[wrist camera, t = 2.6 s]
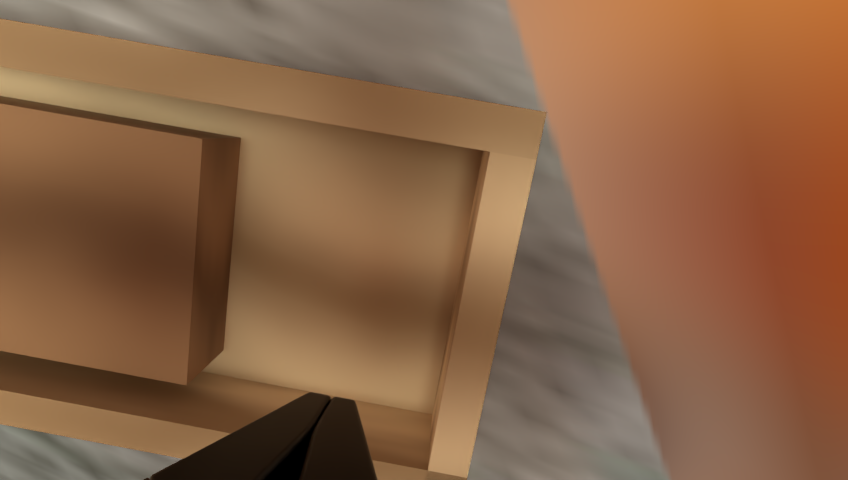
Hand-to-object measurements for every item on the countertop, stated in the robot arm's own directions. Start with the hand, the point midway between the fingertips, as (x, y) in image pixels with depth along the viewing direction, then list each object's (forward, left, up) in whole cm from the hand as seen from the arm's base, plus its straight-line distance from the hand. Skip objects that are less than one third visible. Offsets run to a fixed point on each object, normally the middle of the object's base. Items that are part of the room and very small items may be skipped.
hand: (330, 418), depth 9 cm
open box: (0, +8, -9) cm, 12 cm away
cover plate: (0, +12, -8) cm, 14 cm away
